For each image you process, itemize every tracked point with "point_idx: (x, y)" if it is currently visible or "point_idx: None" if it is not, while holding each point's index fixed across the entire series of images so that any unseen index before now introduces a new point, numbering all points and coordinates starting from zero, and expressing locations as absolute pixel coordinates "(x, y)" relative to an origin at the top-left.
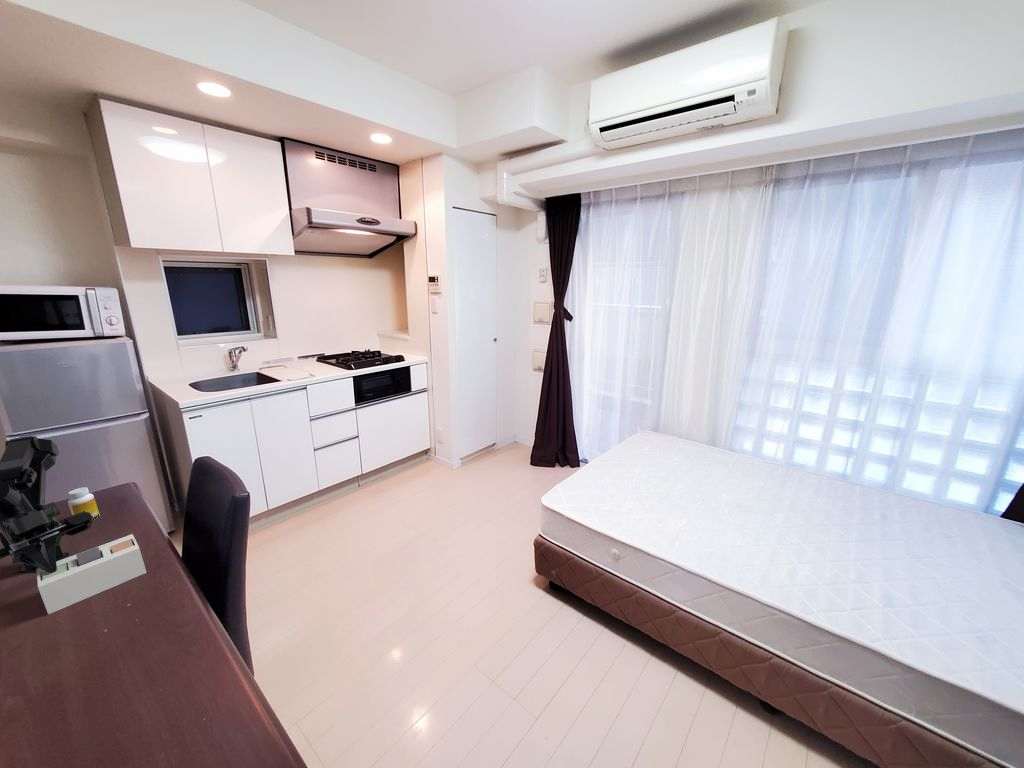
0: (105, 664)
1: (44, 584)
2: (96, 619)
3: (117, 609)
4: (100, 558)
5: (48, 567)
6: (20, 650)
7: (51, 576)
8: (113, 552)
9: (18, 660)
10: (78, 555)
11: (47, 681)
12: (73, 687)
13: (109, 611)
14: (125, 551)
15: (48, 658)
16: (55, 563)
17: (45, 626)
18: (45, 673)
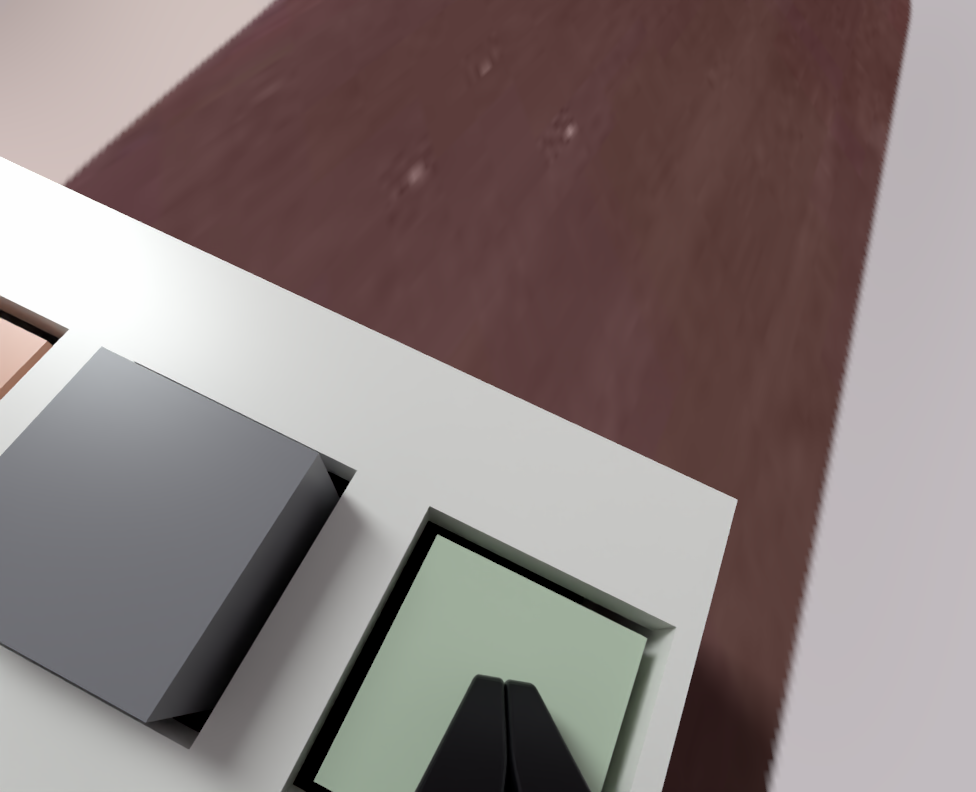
0: (669, 9)
1: (685, 484)
2: (540, 230)
3: (458, 197)
4: (166, 370)
5: (553, 739)
6: (800, 376)
7: (564, 620)
8: (18, 362)
9: (822, 313)
10: (174, 632)
11: (792, 108)
12: (758, 22)
13: (480, 222)
14: (20, 221)
15: (752, 203)
16: (456, 731)
17: (670, 449)
18: (784, 144)
